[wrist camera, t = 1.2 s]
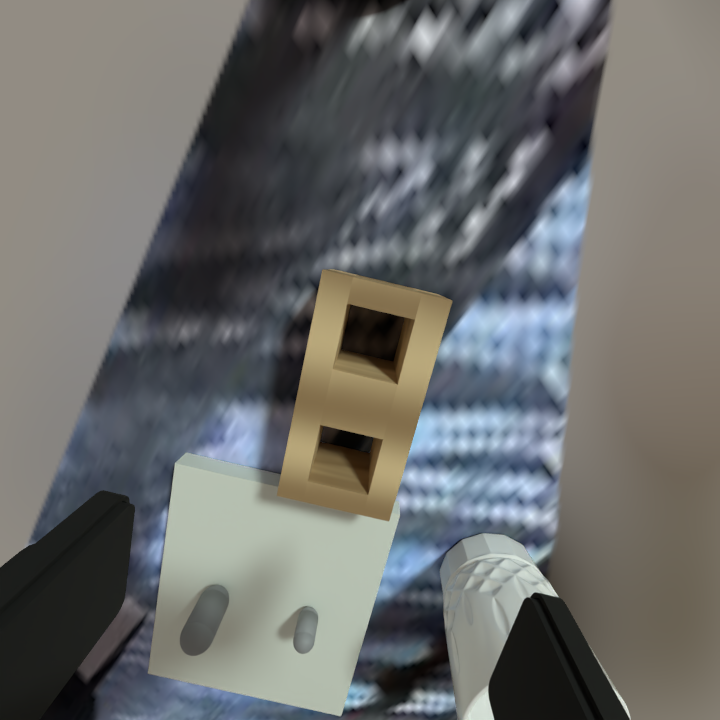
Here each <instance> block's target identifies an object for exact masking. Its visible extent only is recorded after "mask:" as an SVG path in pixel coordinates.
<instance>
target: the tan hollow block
mask: <svg viewBox="0 0 720 720" xmlns="http://www.w3.org/2000/svg"><path fill="white" fill-rule="evenodd" d="M451 304H452V300H450V299H447V298H445V297H443V296H440V295H438V294H435V293H431V292H427V291H422V290H418V289H414V288H410V287H406V286H401V285H397V284H393V283H389V282H385V281H380V280H376V279H372V278H368V277H364V276H359V275H355V274H351V273H347V272H343V271H338V270H334V269H329V270H322V275H321V280H320V285H319V290H318V294H317V299H316V304H315V309H314V314H313V319H312V324H311V329H310V334H309V339H308V344H307V349H306V353H305V358H304V363H303V368H302V373H301V378H300V383H299V388H298V393H297V398H296V403H295V408H294V413H293V417H292V422H291V427H290V432H289V437H288V442H287V447H286V452H285V457H284V462H283V467H282V472H281V476H280V481H279V486H278V491H277V496H279V497H284V498H288V499H292V500H297V501H301V502H306V503H310V504H314V505H319V506H323V507H327V508H332V509H336V510H341V511H345V512H349V513H354V514H358V515H362V516H367V517H371V518H376V519H380V520H384V521H389V520H390V517H391V513H392V510H393V506H394V503H395V499H396V496H397V492H398V489H399V485H400V482H401V478H402V475H403V471H404V468H405V464H406V461H407V457H408V454H409V450H410V447H411V443H412V440H413V437H414V433H415V430H416V426H417V423H418V419H419V416H420V412H421V409H422V405H423V402H424V398H425V395H426V391H427V388H428V384H429V381H430V377H431V374H432V370H433V367H434V363H435V360H436V356H437V353H438V349H439V346H440V342H441V339H442V335H443V332H444V328H445V325H446V321H447V318H448V314H449V311H450V307H451ZM351 305H355V306H359V307H363V308H367V309H372V310H376V311H380V312H384V313H389V314H393V315H397V316H401V317H405V319H404V323H403V327H402V330H401V334H400V338H399V342H398V346H397V350H396V353H395V357H394V361H389V360H385V359H380V358H376V357H372V356H368V355H363V354H359V353H355V352H351V351H346V350H342V349H341V347H342V343H343V338H344V334H345V330H346V325H347V321H348V316H349V312H350V307H351ZM324 426H327V427H331V428H336V429H340V430H344V431H349V432H353V433H357V434H362V435H366V436H370V437H374V438H373V442H372V446H371V449H370V453H368V452H363V451H359V450H355V449H350V448H346V447H342V446H337V445H333V444H329V443H324V442H320V441H321V436H322V432H323V427H324Z"/></svg>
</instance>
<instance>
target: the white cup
mask: <svg viewBox="0 0 720 720" xmlns="http://www.w3.org/2000/svg"><path fill="white" fill-rule="evenodd" d="M440 579H441V586H442V593H443V603H444V607H443V615H444V621H445V633H446V640H447V647H448V654H449V661H450V669H451V676H452V683H453V690H454V697H455V704H456V711H457V718H458V720H494V717H493V713H492V709H491V705H490V701H489V695H488V686H489V681H490V678H491V675H492V673H493V671H494V668H495V666H496V664H497V661H498V659H499V657H500V654H501V652H502V650H503V647H504V645H505V643H506V640H507V638H508V636H509V633H510V631H511V629H512V626H513V624H514V621H515V619H516V617H517V614H518V612H519V610H520V607H521V605H522V603H523V601H524V599H525V598H526V597H529V598H530V597H531V595H532V594H533V593H535V592H536V593H542V594H546V595H550V596H554V597H558V595H557V594H556V593H555V591H554V589H553V588H552V586H551V584H550V583H549V581H548V580H547V579H546V578H545V577H544V576H543V575H542V573H541V572H540V570H539V569H538V567H537V565H536V563H535V562H534V560H533V559H532V557H531V556H530V555H529V553H528V552H527V550H526V549H525V547H524V546H523V545H522V544H520V543H518V542H517V541H515V540H513V539H511V538H509V537H507V536H505V535H500V534H488V533H481V534H478V535H475V536H471V537H468V538H465V539H462V540H461V541H460V542H458V543H457V544H456V545H455V546H454V547H453V548H452V549H450V550H449V551H448V552H447V553H446V556H445V558H444V560H443V563H442V565H441V568H440ZM585 640H586V639H585ZM588 645H589V644H588ZM589 647H590V646H589ZM590 649H591V648H590ZM591 650H592V649H591ZM592 652H593V651H592ZM593 654H594V653H593ZM594 656H595V654H594ZM595 657H596V656H595ZM596 659H597V657H596ZM597 661H598V659H597ZM598 663H599V665H600V666H601V668H602V670H603V672H604V674H605V675H606V677H607V679H608V681H609V683H610V684H611V686H612V688H613V690H614V691H615V693H616V695H617V697H618V699H619V700H620V702H621V704H622V706H623V708H624V709H625V711H626V713H627V715H628V717H629V718H630V714H629V711H628V708H627V706H626V704H625V702H624V700H623V699H622V698H621V696H620V694H619V692H618V691H617V689H616V688H615V686H614V685H613V683H612V681H611V680H610V678H609V677H608V675H607V673H606V672H605V670H604V669H603V667H602V665H601V664H600V662H599V661H598ZM630 720H631V718H630Z"/></svg>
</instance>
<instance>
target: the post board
mask: <svg viewBox="0 0 720 720" xmlns="http://www.w3.org/2000/svg"><path fill="white" fill-rule="evenodd" d="M280 476H281V474H277V473H273V472H269V471H264V470H260V469H256V468H251V467H247V466H242V465H238V464H234V463H229V462H225V461H221V460H216V459H212V458H208V457H203V456H199V455H195V454H190V453H185V454H184V455H183V456H182V457H181V458H180V459H179V460H178V461H177V462H176V463H175V468H174V476H173V483H172V491H171V499H170V507H169V514H168V522H167V530H166V537H165V545H164V553H163V561H162V568H161V576H160V584H159V591H158V599H157V607H156V614H155V622H154V630H153V638H152V645H151V653H150V661H149V668H148V674H152V675H156V676H161V677H165V678H170V679H175V680H179V681H184V682H188V683H193V684H197V685H202V686H206V687H211V688H215V689H220V690H224V691H229V692H234V693H238V694H243V695H247V696H252V697H256V698H261V699H265V700H270V701H274V702H279V703H283V704H288V705H293V706H297V707H302V708H306V709H311V710H315V711H320V712H324V713H329V714H333V715H338V716H341V715H342V711H343V708H344V705H345V701H346V698H347V694H348V691H349V687H350V684H351V681H352V677H353V674H354V670H355V667H356V664H357V660H358V657H359V653H360V650H361V647H362V643H363V640H364V636H365V633H366V629H367V626H368V623H369V619H370V616H371V612H372V609H373V606H374V602H375V599H376V595H377V592H378V589H379V585H380V582H381V578H382V575H383V571H384V568H385V565H386V561H387V558H388V554H389V551H390V548H391V544H392V541H393V537H394V534H395V531H396V527H397V524H398V520H399V517H400V509H399V501H395V503H394V506H393V510H392V513H391V517H390V520H389V521H384V520H380V519H376V518H371V517H367V516H362V515H358V514H354V513H349V512H345V511H341V510H336V509H332V508H327V507H323V506H319V505H314V504H310V503H306V502H301V501H297V500H292V499H288V498H284V497H279V496H277V491H278V486H279V481H280Z"/></svg>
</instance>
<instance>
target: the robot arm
mask: <svg viewBox="0 0 720 720" xmlns="http://www.w3.org/2000/svg"><path fill="white" fill-rule="evenodd" d="M134 513H135V507H134V505H133V504H129V497H128V496H125V495H121V494H116V493H112V492H108V491H104V490H103V491H100V492H98V493H96V494H95V495H94V496H93V497H92V498H90V499H89V500H88V501H87V502H85V503H84V504H83V505H82V506H81V507H79V508H78V509H77V510H76V511H74V512H73V513H72V514H71V515H70V516H68V517H67V518H66V519H65V520H64V521H62V522H61V523H60V524H59V525H57V526H56V527H55V528H54V529H53V530H51V531H50V532H49V533H48V534H46V535H45V536H44V537H43V538H42V539H40V540H39V541H38V542H37V543H35V544H32V545H29V546H28V547H26V548H25V549H23V550H22V551H20V552H19V553H18V554H16V555H15V556H14V557H13V558H11V559H10V560H9V561H8V562H7V563H5V564H4V565H3V566H2V567H0V720H40V719H41V717H42V716H43V714H44V713H45V712H46V710H47V709H48V708H49V706H50V705H51V704H52V702H53V701H54V700H55V698H56V697H57V695H58V694H59V693H60V691H61V690H62V689H63V687H64V686H65V685H66V683H67V682H68V681H69V679H70V678H71V676H72V675H73V674H74V672H75V671H76V670H77V668H78V667H79V666H80V664H81V663H82V662H83V660H84V659H85V658H86V656H87V655H88V653H89V652H90V651H91V649H92V648H93V647H94V645H95V644H96V643H97V641H98V640H99V639H100V637H101V636H102V634H103V633H104V632H105V630H106V629H107V628H108V626H109V625H110V624H111V622H112V621H113V620H114V618H115V617H116V615H117V614H118V612H119V610H120V609H121V607H122V604H123V602H124V599H125V593H126V584H127V575H128V566H129V557H130V548H131V539H132V531H133V522H134ZM488 695H489V701H490V705H491V709H492V713H493V717H494V720H630V718H629V717H628V715H627V713H626V711H625V709H624V708H623V706H622V704H621V702H620V700H619V699H618V697H617V695H616V693H615V691H614V690H613V688H612V686H611V684H610V683H609V681H608V679H607V677H606V675H605V674H604V672H603V670H602V668H601V666H600V665H599V663H598V661H597V659H596V657H595V656H594V654H593V652H592V650H591V649H590V647H589V645H588V643H587V641H586V640H585V638H584V636H583V635H582V632H581V631H580V629H579V627H578V625H577V623H576V622H575V620H574V618H573V616H572V615H571V613H570V611H569V609H568V607H567V606H566V604H565V602H564V601H563V600H562V599H561V598H559V597H554V596H550V595H546V594H542V593H536V592H535V593H533V594H532V595H531V597H530V598H529V597H526V598H525V599H524V601H523V603H522V605H521V607H520V610H519V612H518V614H517V617H516V619H515V621H514V624H513V626H512V629H511V631H510V633H509V636H508V638H507V640H506V643H505V645H504V647H503V650H502V652H501V654H500V657H499V659H498V661H497V664H496V666H495V668H494V671H493V673H492V675H491V678H490V681H489V686H488Z"/></svg>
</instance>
